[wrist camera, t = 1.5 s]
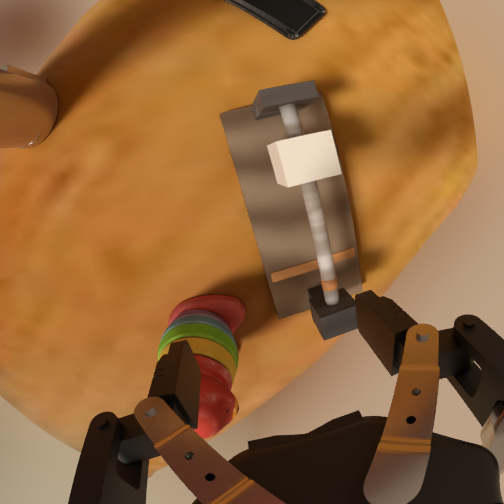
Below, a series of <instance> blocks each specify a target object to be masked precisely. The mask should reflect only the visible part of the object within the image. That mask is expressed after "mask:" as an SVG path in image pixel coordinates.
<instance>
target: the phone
mask: <svg viewBox="0 0 504 504" xmlns="http://www.w3.org/2000/svg"><path fill="white" fill-rule="evenodd" d="M225 1H227V2H229V3H231V4H232V5H234V6H236V7H238V8H240V9H242V10H243V11H245V12H247V13H249V14H250V15H252V16H254V17H255V18H257V19H259V20H260V21H262V22H263V23H265V24H267V25H268V26H270V27H271V28H273V29H274V30H276V31H277V32H279V33H280V34H282V35H283V36H285V37H286V38H288V39H291V40H295V39H298V38H299V37H300V36H301V35H302V34H303V33H305V32H306V31H307V30H308V29H309V28H310V27H311V26H312V25H313V24H314V23H315V22H317V21H318V20H319V19H320V18H321V17H322V16H323V15H324V13H325V9H324V7H323V6H322V5H320V4H319V3H317V2H316V1H315V0H225Z"/></svg>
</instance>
